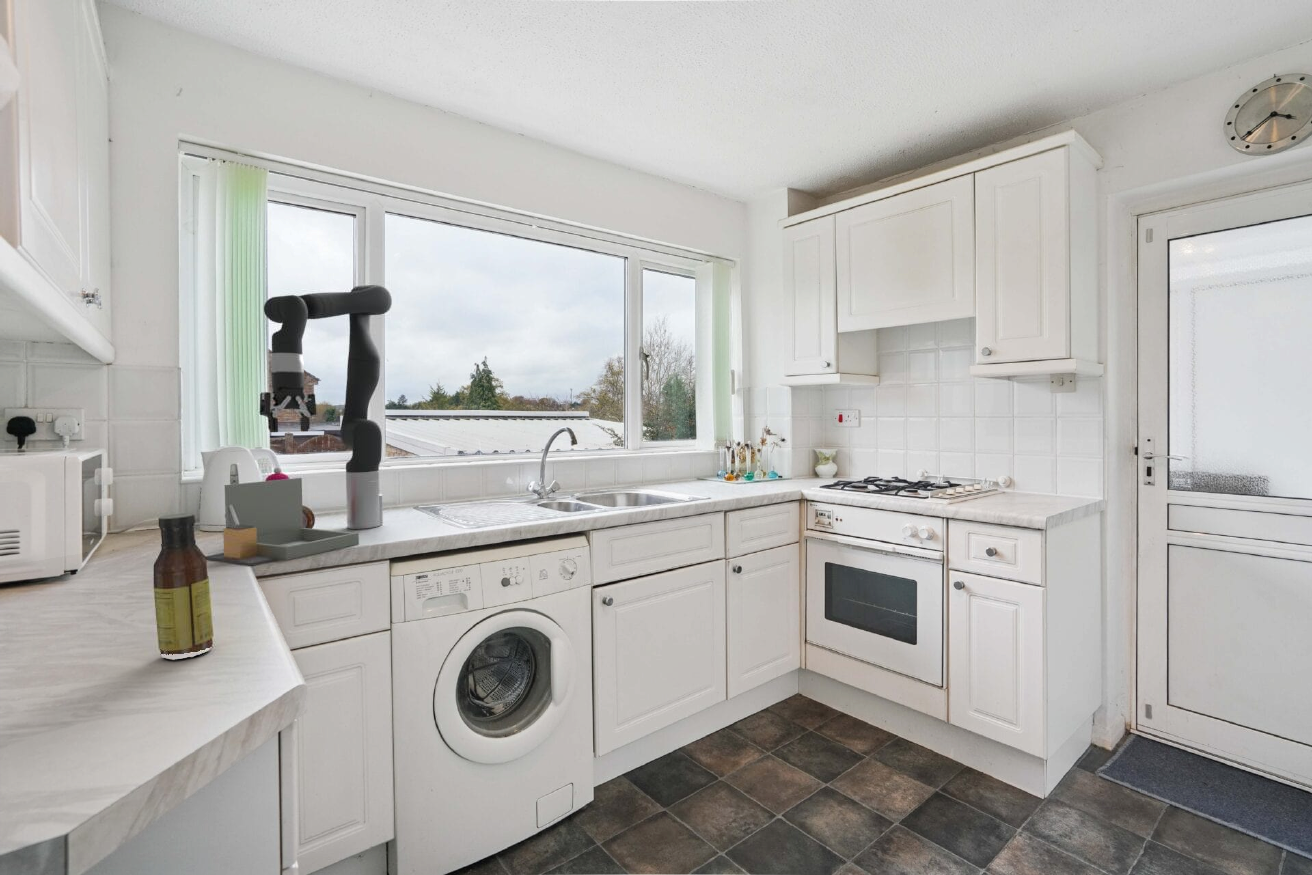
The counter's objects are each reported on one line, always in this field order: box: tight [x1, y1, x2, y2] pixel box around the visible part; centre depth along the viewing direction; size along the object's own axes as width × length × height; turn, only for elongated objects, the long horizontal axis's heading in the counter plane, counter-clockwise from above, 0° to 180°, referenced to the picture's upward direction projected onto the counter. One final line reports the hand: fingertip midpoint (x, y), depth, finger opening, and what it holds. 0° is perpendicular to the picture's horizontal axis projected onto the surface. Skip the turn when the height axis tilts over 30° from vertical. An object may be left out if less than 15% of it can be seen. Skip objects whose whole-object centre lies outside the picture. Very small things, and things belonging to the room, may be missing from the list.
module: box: [222, 525, 257, 560], centre depth 148 cm, size 4×6×7 cm, turn 66°
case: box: [224, 477, 360, 561], centre depth 161 cm, size 20×23×17 cm
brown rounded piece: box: [302, 505, 316, 529], centre depth 182 cm, size 15×3×8 cm, turn 86°
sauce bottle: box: [152, 512, 214, 655], centre depth 88 cm, size 7×6×20 cm
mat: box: [205, 552, 278, 567], centre depth 148 cm, size 6×18×1 cm, turn 65°
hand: (289, 431), depth 167 cm, fingers open, 8 cm apart
